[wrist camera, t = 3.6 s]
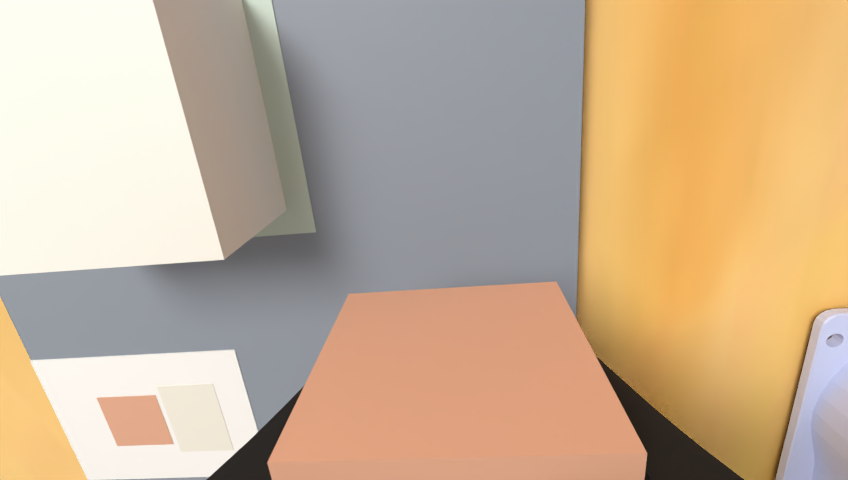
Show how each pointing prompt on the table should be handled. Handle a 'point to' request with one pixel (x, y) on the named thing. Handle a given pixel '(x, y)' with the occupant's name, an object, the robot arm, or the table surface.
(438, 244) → the board
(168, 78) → the cream base block
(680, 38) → the table surface
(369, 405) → the orange cube
